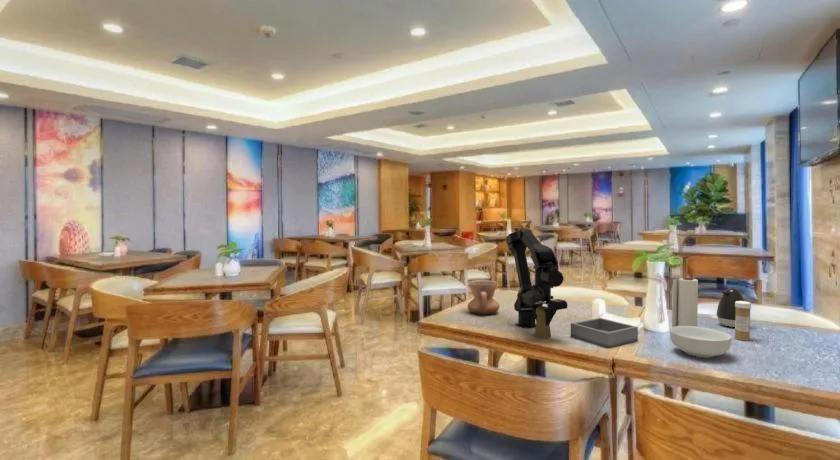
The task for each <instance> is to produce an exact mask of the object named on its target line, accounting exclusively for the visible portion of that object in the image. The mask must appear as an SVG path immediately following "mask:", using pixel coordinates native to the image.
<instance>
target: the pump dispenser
mask: <svg viewBox="0 0 840 460" xmlns="http://www.w3.org/2000/svg"><path fill="white" fill-rule="evenodd" d="M721 293H722V294H721V296H720V298H719V299H720V300H719V301H718V305H717V308H716V317H717V320H718V321H719V323H720V324H721V325H723V326H724V325H725V327H727V326H729V327H728V328H732V327H735V312H736V308H735V302H736V301H745V298H744V296H743V294H742V293H741V291H740V290H739V289H737V288H736V287H729V288H727V289H725V290H722V291H721Z"/></svg>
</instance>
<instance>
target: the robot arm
mask: <svg viewBox="0 0 840 460" xmlns="http://www.w3.org/2000/svg"><path fill="white" fill-rule="evenodd" d="M505 243H506V245H507V248H508V250H509V252H511V254H512V255H513V257H514V262H515V263H514V264H515V270H516V274H517V278H518V285H519V290H518V292H517V296H516V297H517V298H516V300H515V302H514V304H513V307H514V308H513V309H514V311H516V312H517V314H518V315H517V316H518V317H517V318H518V321H517V323H515V326H519V327H521V328H524V329H529V328H534V327H535V328H536V320H537V314H536V308H537V307H539V306H544V305H546V306H545V307H546V308H543V309H544V311H545V315H546V325H547V326H548V325H549V324H550V325H551V322H552V320H553V318H554V316H555V315H556V313H557V312H558V311H559V310H566V309H568V302H567V301H566V300H565V299H561V298H560V299H559V298H557V299H556V298H555V299H554V295H552V289H554V287H555V288H558V287H559V286H561V285H562V284H563V282H564V275H563V273H562V272H561V271H559V262H558V259H557V257H556V254H555V252H554V250H553V249H552V248H550V247H549V246H548V245H545V244H542V243H541V242H540V240H539V239H538V238H537V237H536V236H535V235H534V234H533V232H532V230H531V229H529V228H520V229H517V230H516V231H513V232H511V233H509V234H508V235H507V236H506V239H505ZM527 250H529V252H530V253H531V254H530V259H531V261H532V262H533V264H534V265H533V269H534V284H532V280H531V275H530V270H529V264H528V259H527V255H526V251H527Z"/></svg>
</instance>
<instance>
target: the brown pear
mask: <svg viewBox="0 0 840 460" xmlns="http://www.w3.org/2000/svg"><path fill="white" fill-rule="evenodd" d="M546 307H547V306H545V305H543V306H539V307H537V308H536V314H537V320H536V319H535V324H536V326H535V329H534V335H533V336H534V337H536V338H538V339H551V338H552V332H551V326H550V325H551V323H550V324H549V325H548V326H547V325H546V315H545V311H544V309H543V308H546Z"/></svg>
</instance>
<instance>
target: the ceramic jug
mask: <svg viewBox="0 0 840 460" xmlns="http://www.w3.org/2000/svg"><path fill="white" fill-rule="evenodd" d="M469 288H470V290H471V293H472V296H473V298H472V299H471V300H470V301H469V302H467V309H468V310H469V311H470V312H471V313H474V314H477V315H492V314H495V313H497V312H498V311H499V310H500V304H499V302H498V301H497V300H496V299H494V295H495V292H496V288H497V281H493V280H490V279H488V280H487V279H486V280H484V279H478V280H476V279H475V280H472V281H469Z"/></svg>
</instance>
